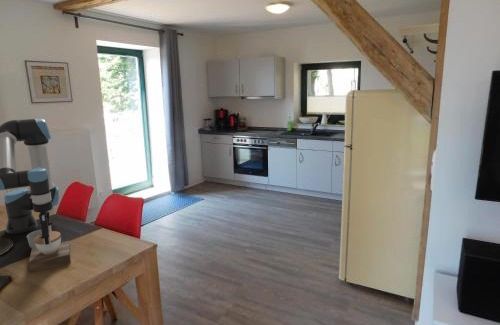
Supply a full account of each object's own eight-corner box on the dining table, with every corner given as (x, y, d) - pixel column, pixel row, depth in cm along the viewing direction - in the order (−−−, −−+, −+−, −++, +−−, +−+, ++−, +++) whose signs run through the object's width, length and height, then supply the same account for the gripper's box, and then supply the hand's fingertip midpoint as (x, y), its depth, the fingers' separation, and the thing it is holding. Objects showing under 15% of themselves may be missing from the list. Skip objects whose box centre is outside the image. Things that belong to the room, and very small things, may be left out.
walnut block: (33, 257, 158) (31, 248, 157) (70, 249, 165) (69, 240, 164) (30, 273, 144) (28, 263, 143) (70, 263, 152) (69, 254, 151)
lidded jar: (67, 249, 155) (64, 232, 152) (43, 259, 146) (40, 241, 144) (55, 242, 161) (53, 225, 158) (32, 252, 152) (29, 234, 150)
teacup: (41, 252, 161) (39, 238, 159) (23, 250, 163) (20, 236, 162) (62, 240, 174) (60, 226, 173) (45, 238, 177) (43, 225, 175)
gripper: (34, 195, 157) (41, 235, 162) (30, 212, 136) (37, 257, 140) (52, 193, 160) (58, 232, 165) (50, 208, 139) (57, 253, 144)
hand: (49, 244), depth 153 cm, fingers open, 13 cm apart
